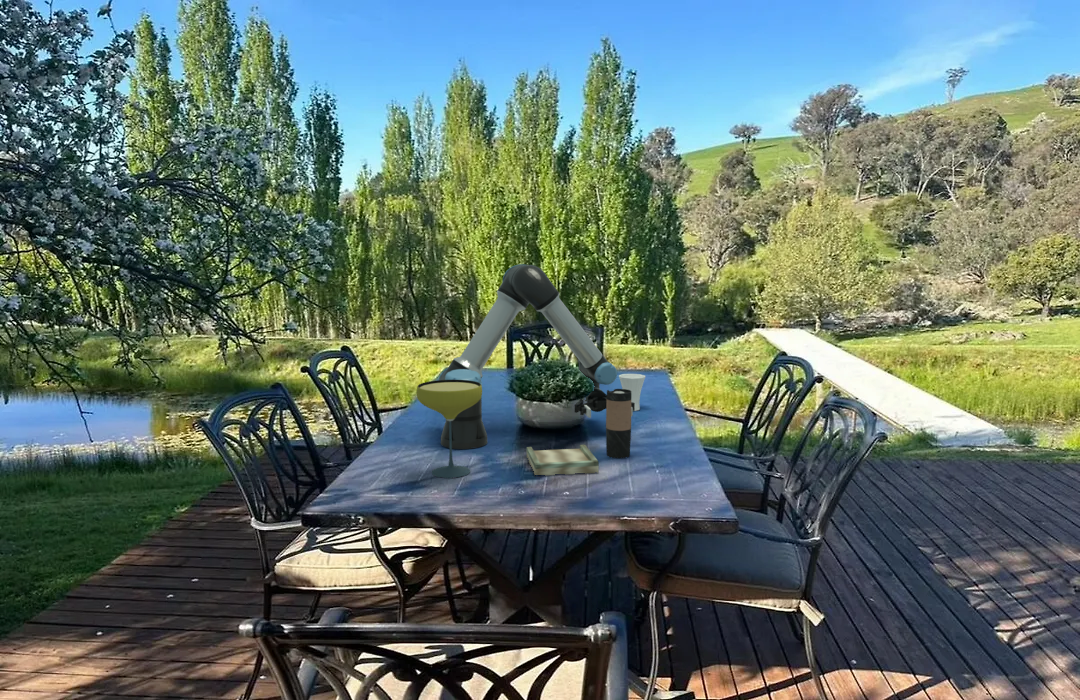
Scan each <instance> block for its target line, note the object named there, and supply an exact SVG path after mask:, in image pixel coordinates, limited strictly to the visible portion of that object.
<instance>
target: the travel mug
mask: <svg viewBox="0 0 1080 700" xmlns="http://www.w3.org/2000/svg"><path fill="white" fill-rule="evenodd" d="M606 395H607V403H606V409H605V410H606V411H605V414H606V416H605V443H606V444H605V445H606V447H605V451H606V456H607V457H608V456H609V458H611V457H612V459H626V457H627V458H630V456H631V440H632V439H631V438H632V436H631V435H632V416H631V391H630V390H627V389H622V388H614V389H613V390H609V389H607V390H606Z"/></svg>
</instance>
